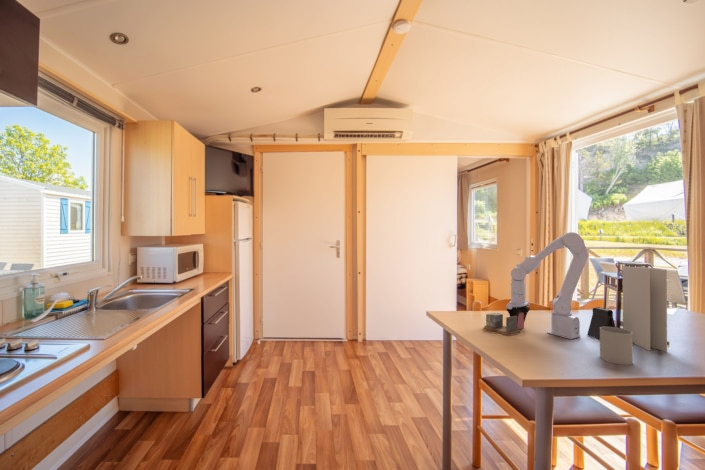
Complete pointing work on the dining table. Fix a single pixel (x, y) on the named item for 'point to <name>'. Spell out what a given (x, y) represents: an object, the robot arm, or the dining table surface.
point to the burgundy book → (520, 321)
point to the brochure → (645, 306)
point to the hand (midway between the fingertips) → (518, 323)
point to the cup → (616, 345)
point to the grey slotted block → (501, 324)
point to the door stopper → (600, 321)
